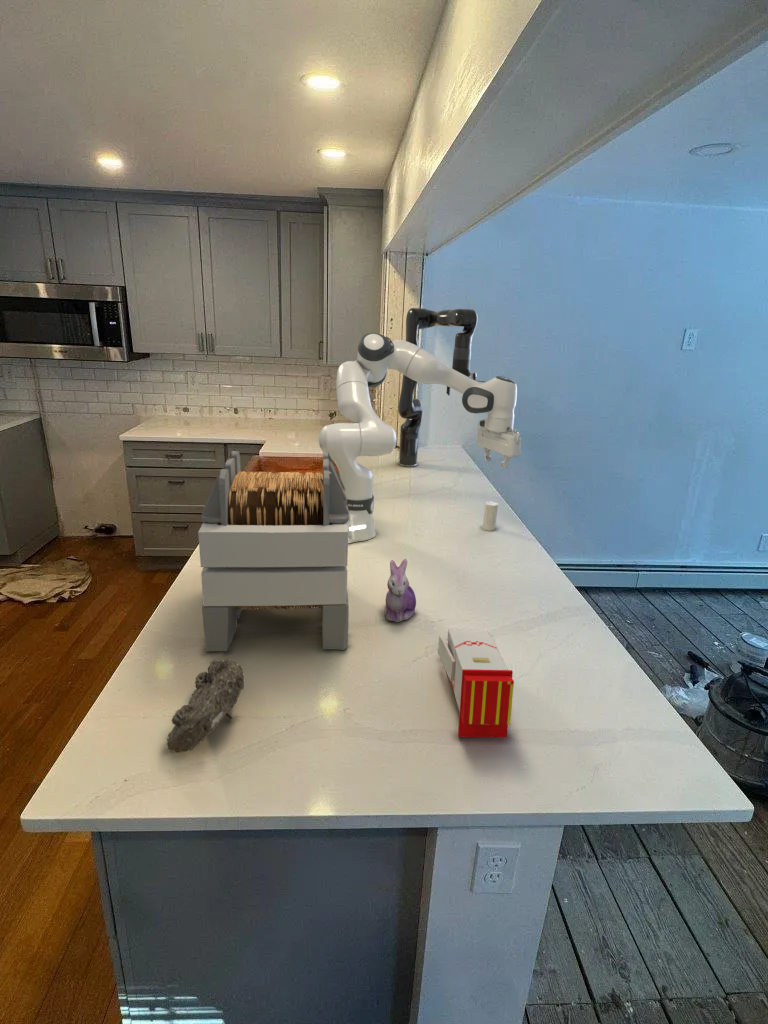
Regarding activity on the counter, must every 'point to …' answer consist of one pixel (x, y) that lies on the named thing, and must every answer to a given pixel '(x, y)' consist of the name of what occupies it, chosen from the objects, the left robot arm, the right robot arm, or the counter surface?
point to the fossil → (206, 705)
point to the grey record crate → (274, 549)
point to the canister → (490, 516)
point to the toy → (478, 682)
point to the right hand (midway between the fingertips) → (458, 395)
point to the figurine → (399, 594)
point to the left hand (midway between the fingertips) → (495, 463)
